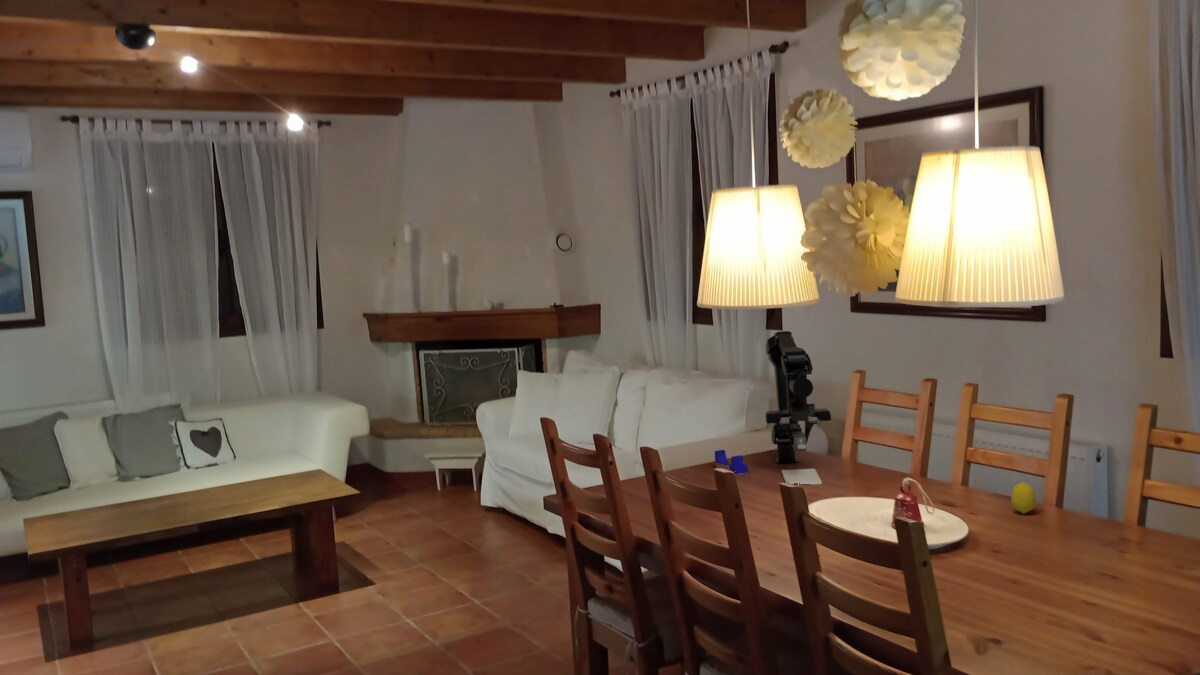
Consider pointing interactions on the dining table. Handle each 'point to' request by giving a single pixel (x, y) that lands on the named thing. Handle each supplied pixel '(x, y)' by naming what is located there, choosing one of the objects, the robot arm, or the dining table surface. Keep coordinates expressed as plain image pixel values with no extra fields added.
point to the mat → (801, 476)
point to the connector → (799, 441)
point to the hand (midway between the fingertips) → (799, 444)
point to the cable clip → (735, 463)
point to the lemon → (1023, 497)
